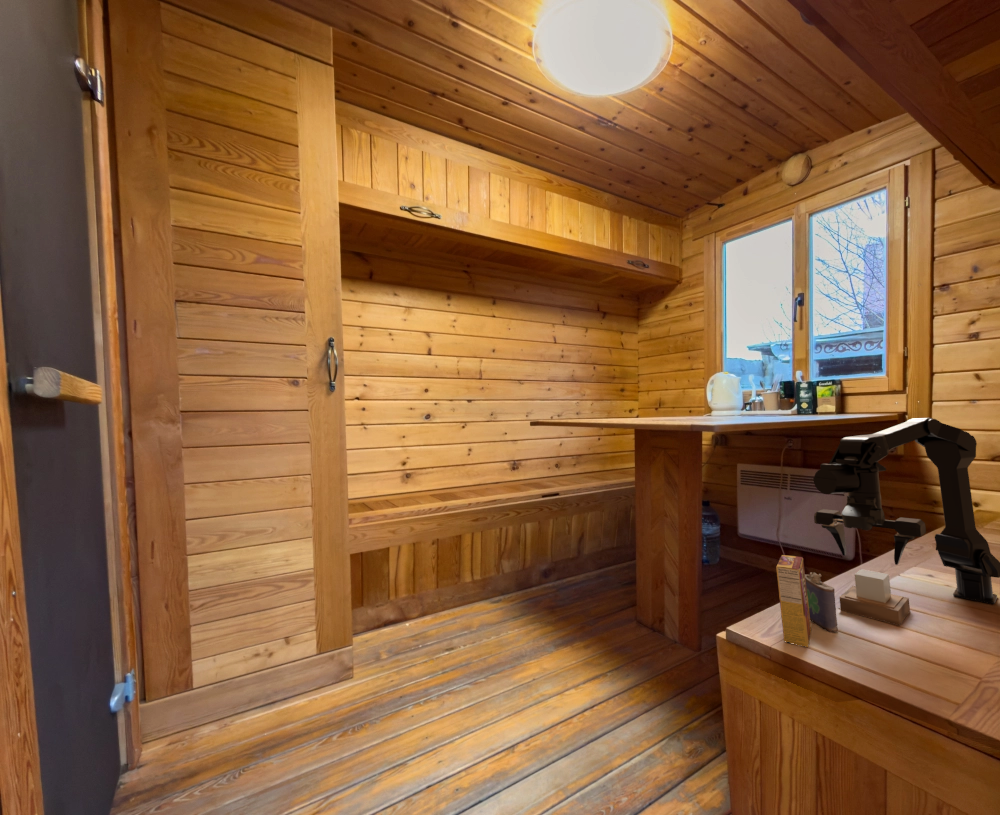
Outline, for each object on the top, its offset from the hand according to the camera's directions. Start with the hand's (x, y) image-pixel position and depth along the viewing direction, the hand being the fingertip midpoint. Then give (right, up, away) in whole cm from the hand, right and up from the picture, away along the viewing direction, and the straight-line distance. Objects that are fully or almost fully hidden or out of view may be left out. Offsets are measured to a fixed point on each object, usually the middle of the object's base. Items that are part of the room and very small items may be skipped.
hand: (869, 559), depth 96 cm
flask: (-15, -12, -5) cm, 20 cm away
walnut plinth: (+1, -12, 0) cm, 12 cm away
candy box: (-23, -13, -10) cm, 28 cm away
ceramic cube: (+1, -8, 0) cm, 8 cm away
